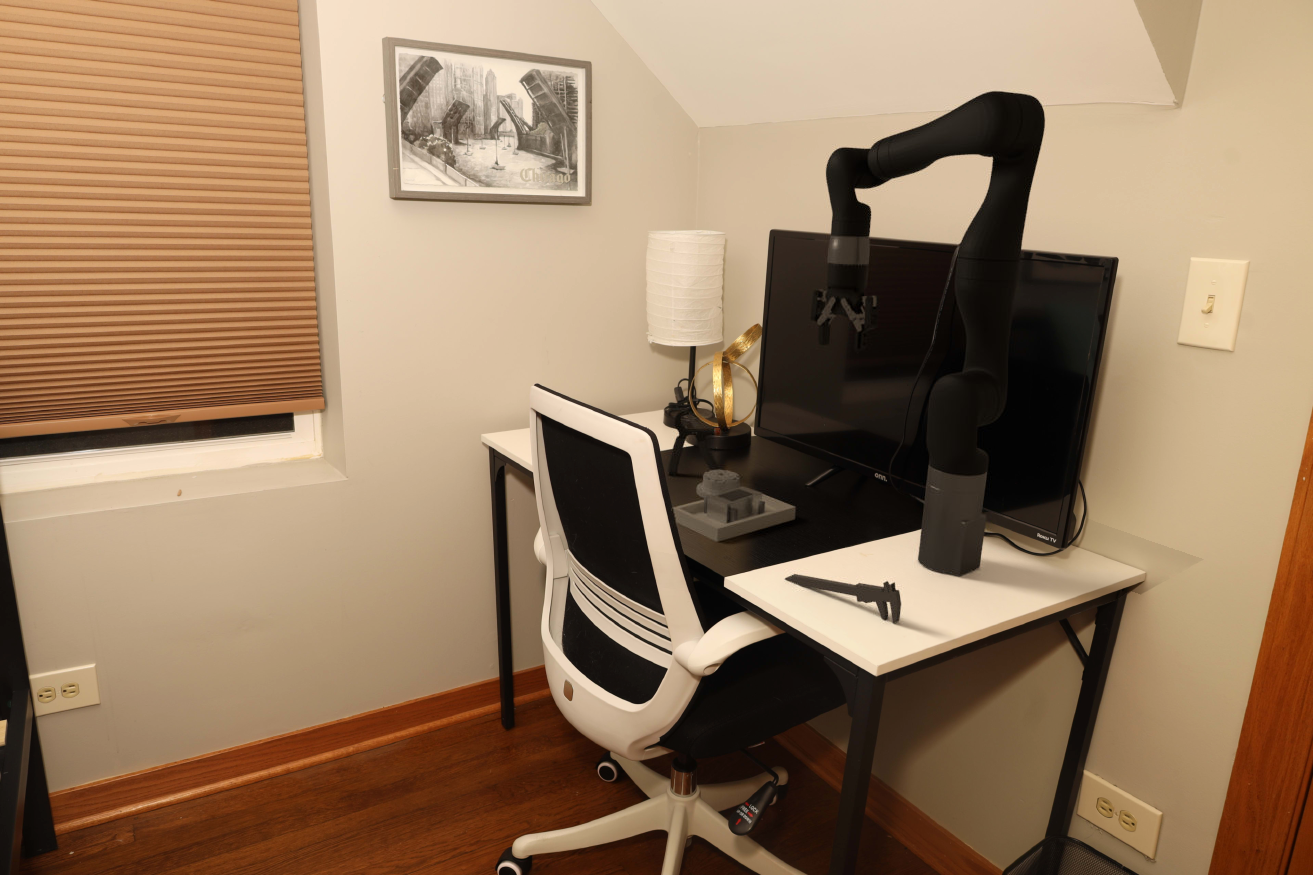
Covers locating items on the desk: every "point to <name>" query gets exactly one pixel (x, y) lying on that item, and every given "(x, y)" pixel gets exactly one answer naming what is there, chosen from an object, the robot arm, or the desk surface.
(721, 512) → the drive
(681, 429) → the hand grip strengthener
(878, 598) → the caliper
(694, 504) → the pin tray
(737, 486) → the mechanical component
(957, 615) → the desk surface
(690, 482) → the desk surface
